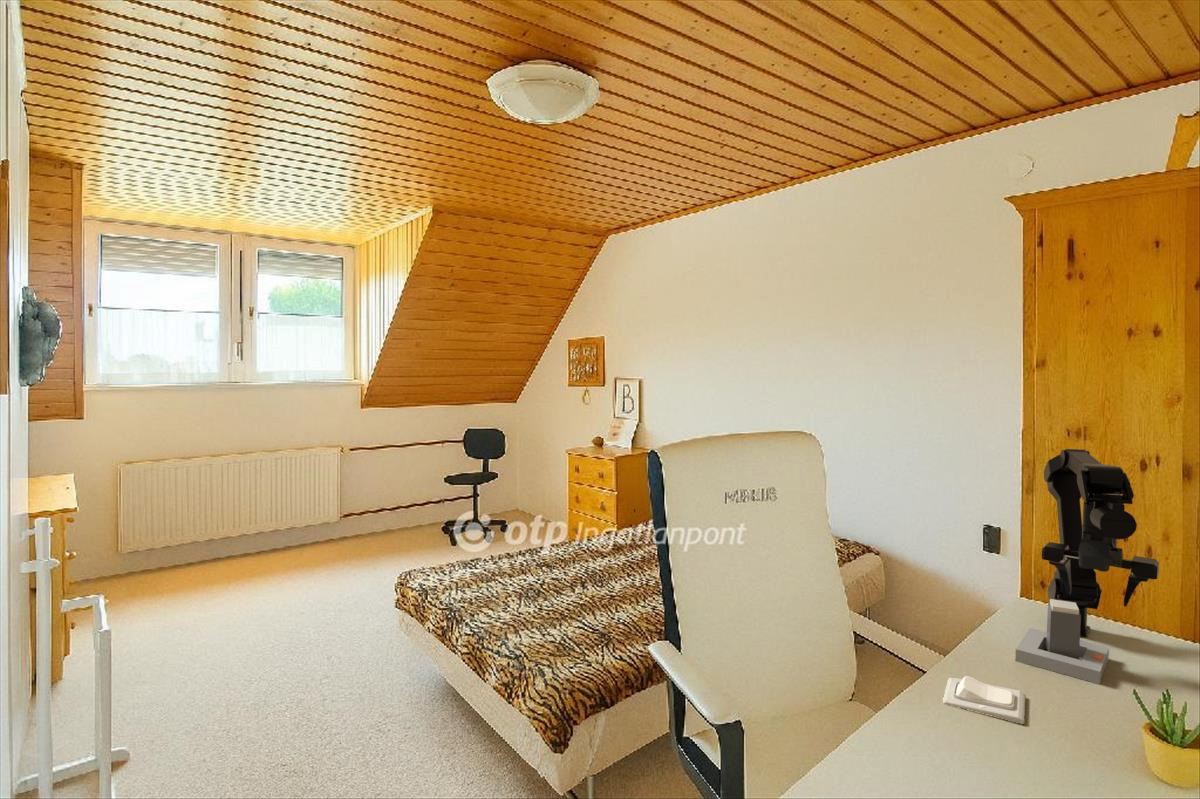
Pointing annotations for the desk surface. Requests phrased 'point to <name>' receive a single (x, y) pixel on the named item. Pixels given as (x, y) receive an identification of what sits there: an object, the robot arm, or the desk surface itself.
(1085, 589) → the robot arm
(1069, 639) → the plug
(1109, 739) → the desk surface
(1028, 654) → the socket plate
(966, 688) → the light switch
